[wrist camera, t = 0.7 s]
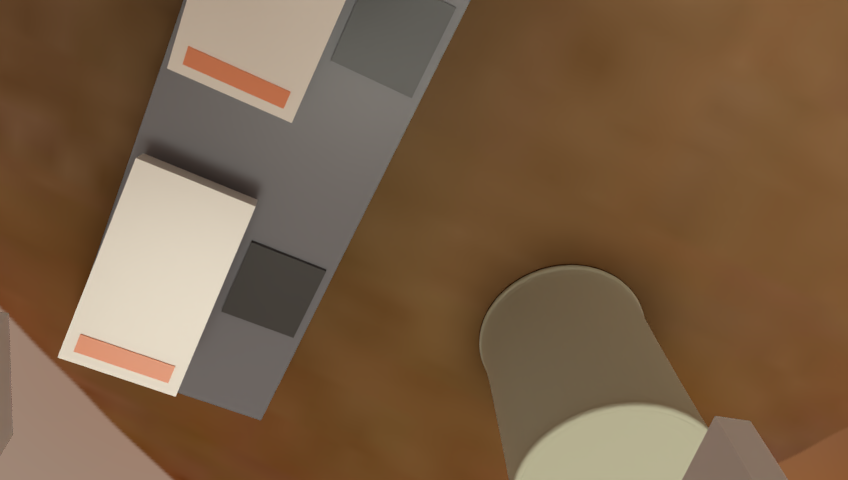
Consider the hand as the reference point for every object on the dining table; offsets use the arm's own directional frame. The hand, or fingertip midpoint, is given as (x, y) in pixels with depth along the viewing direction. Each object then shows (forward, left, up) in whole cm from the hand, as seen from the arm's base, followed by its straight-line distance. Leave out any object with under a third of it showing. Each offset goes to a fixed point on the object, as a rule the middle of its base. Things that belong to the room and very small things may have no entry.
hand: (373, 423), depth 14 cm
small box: (+4, -11, -17) cm, 20 cm away
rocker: (-6, -2, -17) cm, 18 cm away
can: (+16, +6, -24) cm, 29 cm away
